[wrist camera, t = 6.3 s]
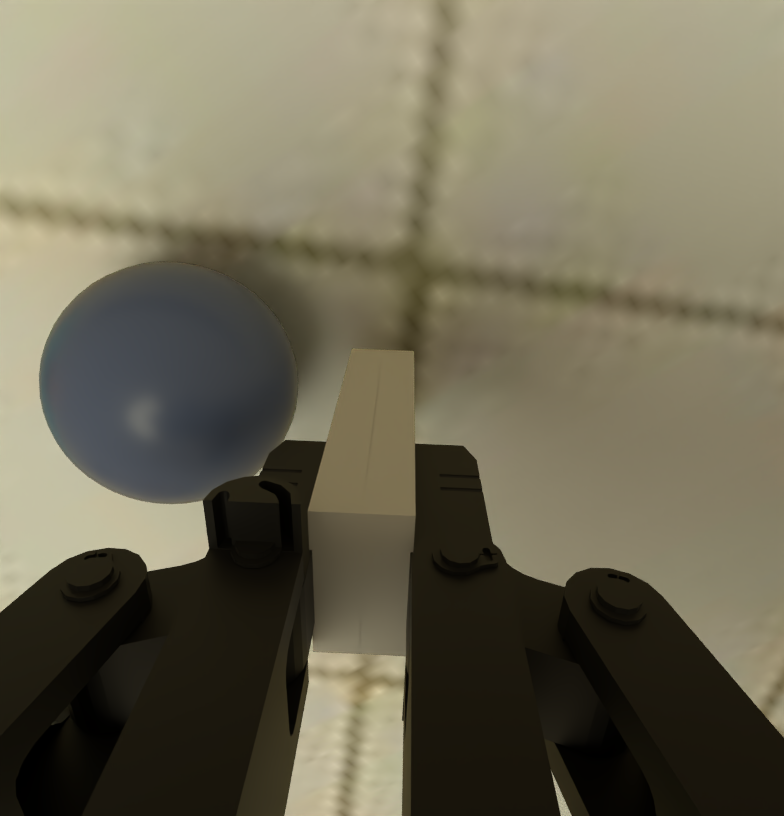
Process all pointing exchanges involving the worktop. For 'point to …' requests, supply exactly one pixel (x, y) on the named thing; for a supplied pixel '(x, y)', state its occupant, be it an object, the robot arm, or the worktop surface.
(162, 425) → the blue ball
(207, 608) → the robot arm
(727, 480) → the worktop surface
